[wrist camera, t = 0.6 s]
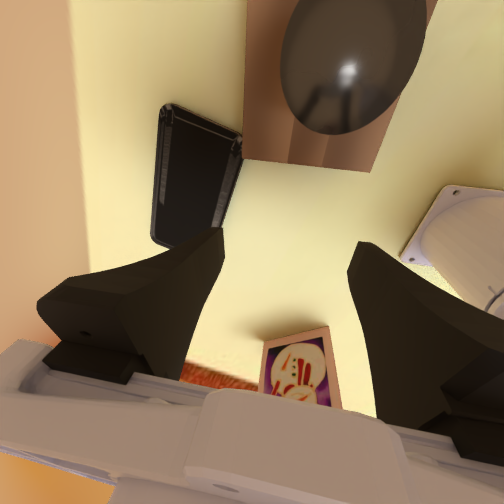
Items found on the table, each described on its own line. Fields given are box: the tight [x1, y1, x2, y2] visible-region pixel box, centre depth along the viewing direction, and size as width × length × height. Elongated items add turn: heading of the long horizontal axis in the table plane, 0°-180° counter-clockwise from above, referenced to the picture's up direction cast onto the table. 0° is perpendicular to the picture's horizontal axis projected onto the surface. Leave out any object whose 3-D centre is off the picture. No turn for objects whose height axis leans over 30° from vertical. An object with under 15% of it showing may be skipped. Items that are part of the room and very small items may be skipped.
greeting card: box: [258, 326, 343, 409], centre depth 27 cm, size 11×7×15 cm, turn 125°
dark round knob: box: [280, 0, 427, 135], centre depth 9 cm, size 4×4×7 cm
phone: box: [150, 104, 244, 249], centre depth 21 cm, size 8×1×15 cm
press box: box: [242, 0, 438, 173], centre depth 13 cm, size 9×9×4 cm
